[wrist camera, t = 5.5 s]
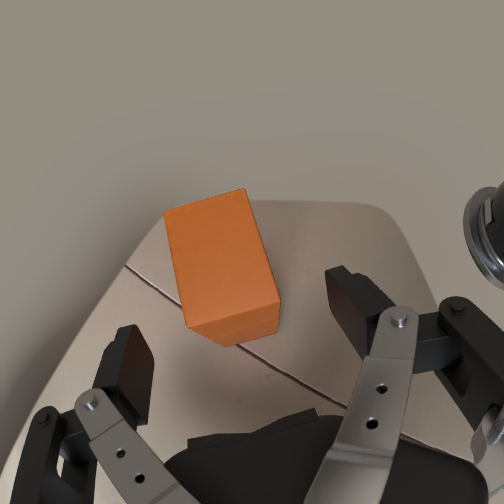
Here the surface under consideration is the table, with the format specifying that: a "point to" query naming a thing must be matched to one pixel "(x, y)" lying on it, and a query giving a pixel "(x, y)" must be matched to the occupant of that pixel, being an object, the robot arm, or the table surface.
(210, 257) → the orange lidded gift box
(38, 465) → the robot arm
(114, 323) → the table surface
